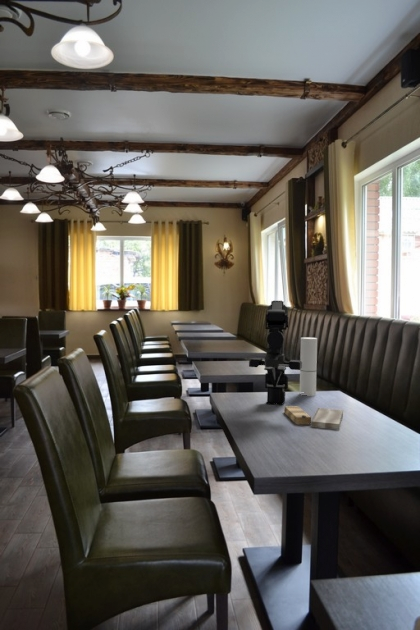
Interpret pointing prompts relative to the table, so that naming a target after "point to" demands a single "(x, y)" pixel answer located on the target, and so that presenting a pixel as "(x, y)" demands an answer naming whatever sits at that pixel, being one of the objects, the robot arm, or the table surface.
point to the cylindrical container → (308, 366)
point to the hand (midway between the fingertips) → (274, 387)
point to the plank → (297, 415)
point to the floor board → (327, 418)
